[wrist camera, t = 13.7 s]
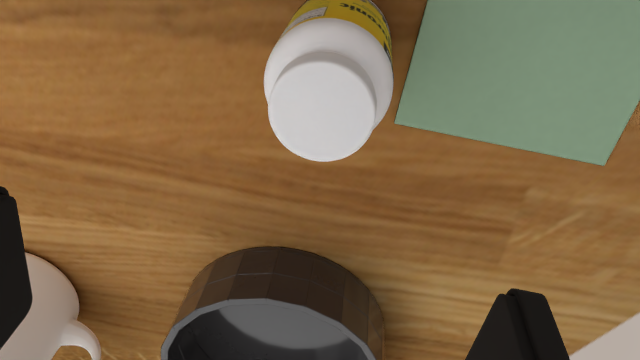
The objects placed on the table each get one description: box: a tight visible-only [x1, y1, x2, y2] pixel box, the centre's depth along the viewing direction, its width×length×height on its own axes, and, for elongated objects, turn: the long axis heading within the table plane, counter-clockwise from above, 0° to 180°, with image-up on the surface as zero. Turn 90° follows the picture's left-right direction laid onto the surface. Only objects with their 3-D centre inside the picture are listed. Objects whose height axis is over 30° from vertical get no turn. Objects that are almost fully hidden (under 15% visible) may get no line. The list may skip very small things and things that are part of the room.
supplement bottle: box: [264, 0, 394, 162], centre depth 23 cm, size 5×5×10 cm
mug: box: [0, 252, 101, 360], centre depth 35 cm, size 9×12×11 cm
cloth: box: [394, 0, 640, 166], centre depth 25 cm, size 12×14×1 cm
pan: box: [161, 247, 385, 360], centre depth 37 cm, size 15×15×5 cm
